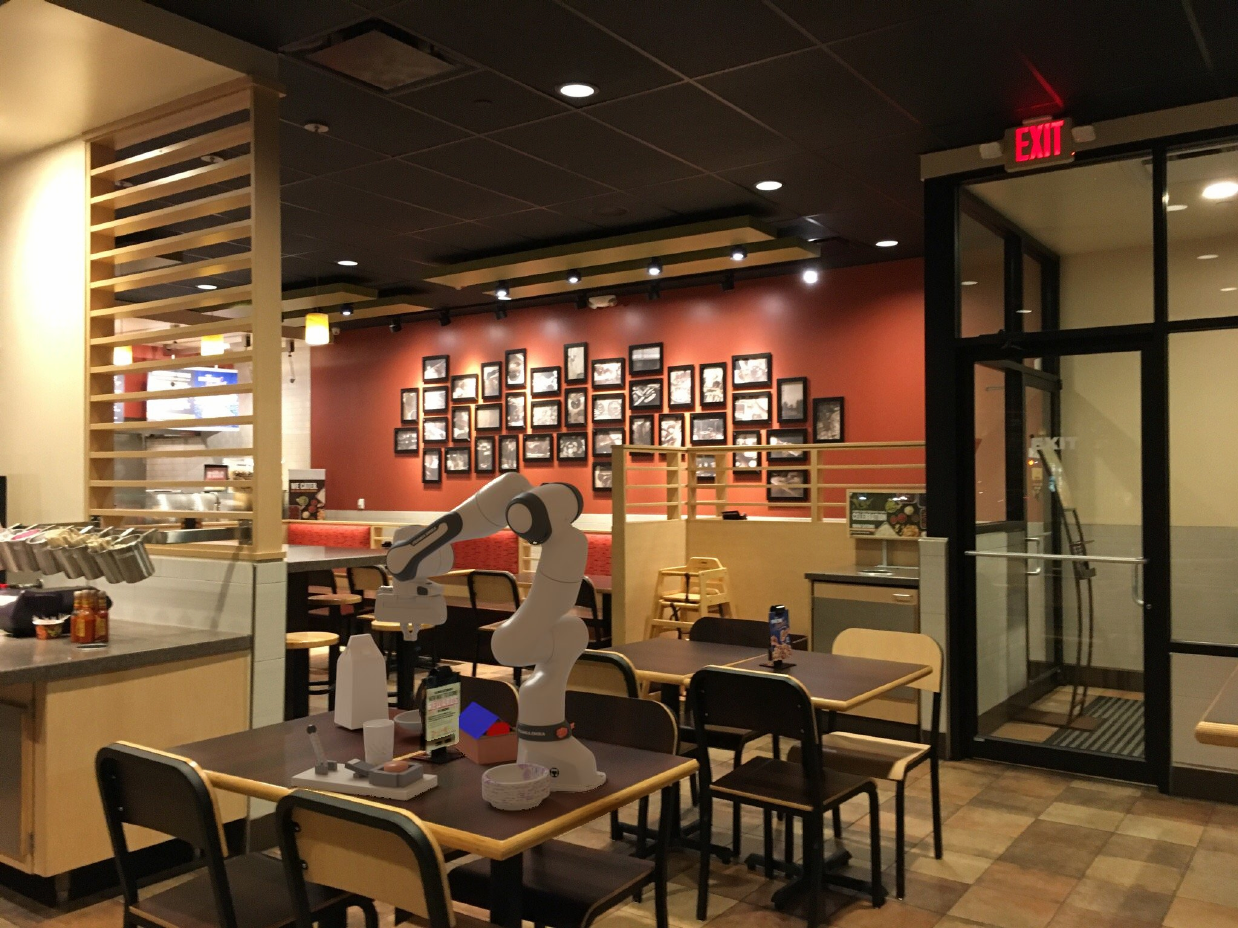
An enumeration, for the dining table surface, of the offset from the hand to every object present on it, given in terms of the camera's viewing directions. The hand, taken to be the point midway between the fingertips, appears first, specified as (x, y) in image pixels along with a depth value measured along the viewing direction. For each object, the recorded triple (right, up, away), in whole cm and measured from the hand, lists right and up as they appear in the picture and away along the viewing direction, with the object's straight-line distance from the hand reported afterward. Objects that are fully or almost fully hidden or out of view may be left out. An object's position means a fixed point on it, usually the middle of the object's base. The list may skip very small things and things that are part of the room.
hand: (410, 640), depth 265 cm
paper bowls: (+31, -31, -38) cm, 58 cm away
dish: (-2, -31, +26) cm, 41 cm away
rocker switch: (-7, -27, -24) cm, 36 cm away
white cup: (-8, -31, -2) cm, 32 cm away
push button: (+2, -27, -27) cm, 39 cm away
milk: (-23, -31, +39) cm, 55 cm away
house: (+19, -31, +6) cm, 37 cm away
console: (-6, -31, -24) cm, 40 cm away
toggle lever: (-16, -28, -20) cm, 38 cm away
